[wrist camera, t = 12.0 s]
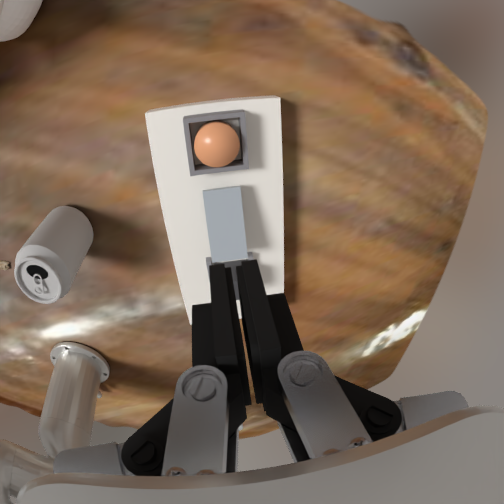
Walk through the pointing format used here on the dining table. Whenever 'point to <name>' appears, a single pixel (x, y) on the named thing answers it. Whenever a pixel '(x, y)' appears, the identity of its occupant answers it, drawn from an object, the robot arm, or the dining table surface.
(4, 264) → the jawbone
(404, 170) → the dining table surface
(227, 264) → the slider
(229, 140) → the button
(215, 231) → the slate rocker
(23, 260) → the can
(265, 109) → the panel
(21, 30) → the cat figurine
